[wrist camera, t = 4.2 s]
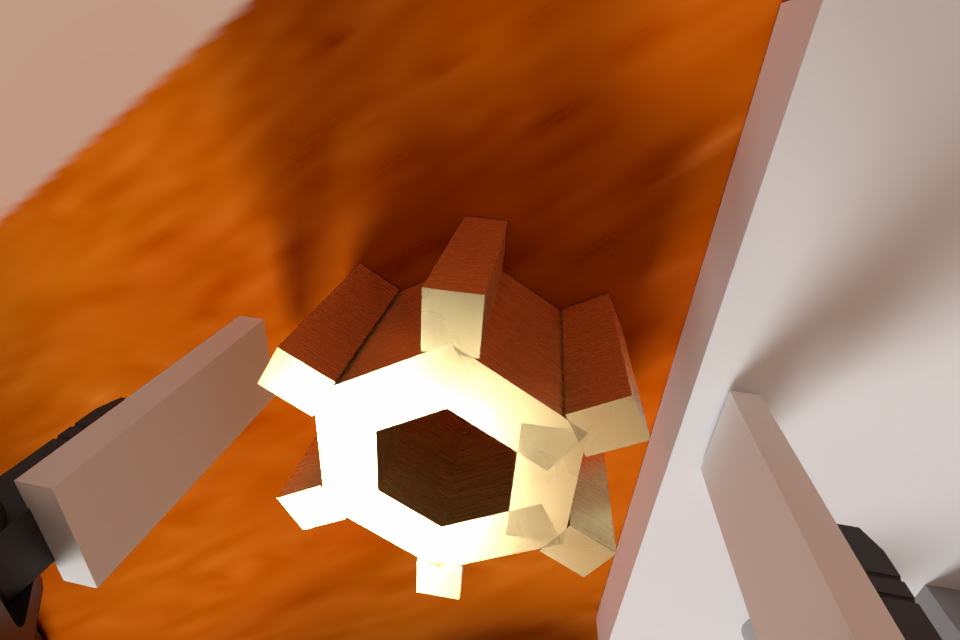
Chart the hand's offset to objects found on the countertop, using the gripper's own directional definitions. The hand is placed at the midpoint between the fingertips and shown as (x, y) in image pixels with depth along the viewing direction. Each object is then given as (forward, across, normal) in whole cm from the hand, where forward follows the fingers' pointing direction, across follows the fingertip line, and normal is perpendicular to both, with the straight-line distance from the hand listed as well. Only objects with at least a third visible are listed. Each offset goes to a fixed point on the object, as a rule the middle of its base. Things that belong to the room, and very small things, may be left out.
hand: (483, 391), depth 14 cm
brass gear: (+2, 0, 0) cm, 2 cm away
